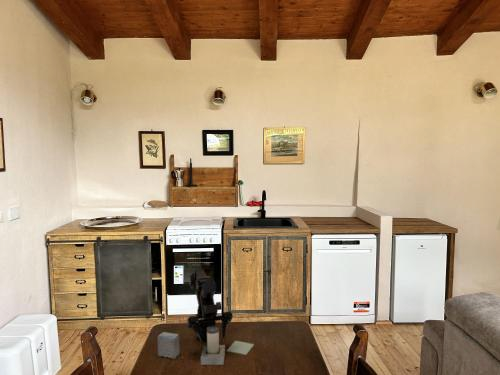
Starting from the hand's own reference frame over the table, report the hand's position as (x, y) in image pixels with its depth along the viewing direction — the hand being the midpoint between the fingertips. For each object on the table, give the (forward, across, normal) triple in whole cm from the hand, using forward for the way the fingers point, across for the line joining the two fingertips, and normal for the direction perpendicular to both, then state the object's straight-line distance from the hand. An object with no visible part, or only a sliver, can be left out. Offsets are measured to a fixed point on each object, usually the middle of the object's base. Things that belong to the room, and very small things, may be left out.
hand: (213, 339), depth 147 cm
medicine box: (0, -17, +12) cm, 21 cm away
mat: (+2, +13, +9) cm, 16 cm away
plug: (+6, 0, +6) cm, 8 cm away
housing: (+6, 0, +6) cm, 8 cm away
